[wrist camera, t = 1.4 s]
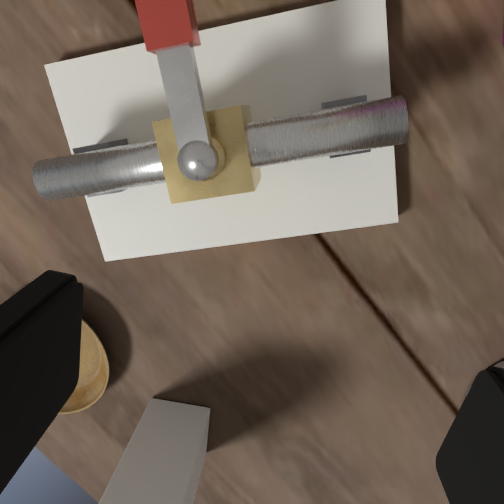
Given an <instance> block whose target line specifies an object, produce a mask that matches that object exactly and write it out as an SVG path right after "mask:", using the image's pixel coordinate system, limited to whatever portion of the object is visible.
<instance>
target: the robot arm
mask: <svg viewBox="0 0 504 504" xmlns="http://www.w3.org/2000/svg"><path fill="white" fill-rule="evenodd" d="M82 307H83V285H82V283H79V282H77V279H76V277H75V276H74V275H71V274H67V273H62V272H57V271H53V270H48V271H46V272H44V273H43V274H42V275H40V276H39V277H38V278H36V279H35V280H34V281H32V282H31V283H29V284H28V285H27V286H25V287H24V288H23V289H21V290H20V291H19V292H17V293H16V294H15V295H13V296H12V297H11V298H9V299H8V300H6V301H5V302H4V303H2V304H1V305H0V494H1V492H2V491H3V490H4V488H5V487H6V486H7V484H8V483H9V481H10V480H11V479H12V477H13V476H14V474H15V473H16V472H17V470H18V469H19V467H20V466H21V465H22V463H23V462H24V460H25V459H26V458H27V456H28V455H29V453H30V452H31V451H32V449H33V447H34V446H35V445H36V444H37V442H38V441H39V439H40V438H41V437H42V435H43V434H44V432H45V431H46V430H47V428H48V427H49V425H50V424H51V423H52V421H53V420H54V418H55V417H56V416H57V414H58V413H59V411H60V410H61V409H62V407H63V406H64V404H65V403H66V402H67V400H68V399H69V397H70V396H71V395H72V393H73V392H74V390H75V388H76V386H77V383H78V379H79V369H80V349H81V328H82ZM436 469H437V472H438V475H439V477H440V480H441V482H442V485H443V487H444V490H445V493H446V495H447V498H448V500H449V503H450V504H504V361H502V362H499V363H497V364H496V365H494V366H491V367H488V368H487V369H486V370H485V371H480V372H479V373H478V375H477V376H476V378H475V380H474V382H473V384H472V385H471V387H470V389H469V390H468V392H467V394H466V397H465V400H464V402H463V404H462V406H461V408H460V410H459V412H458V414H457V416H456V418H455V420H454V422H453V423H452V425H451V427H450V429H449V431H448V433H447V435H446V437H445V439H444V441H443V443H442V445H441V447H440V449H439V451H438V453H437V456H436Z"/></svg>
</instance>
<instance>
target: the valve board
mask: <svg viewBox="0 0 504 504" xmlns="http://www.w3.org/2000/svg"><path fill="white" fill-rule="evenodd" d="M198 32H199V37H200V42H201V45H200V46H196V47H193V48H194V53H195V58H196V63H197V68H198V73H199V78H200V83H201V88H202V93H203V98H204V103H205V108H206V111H212V110H217V109H222V108H228V107H233V106H238V105H250V110H251V116H252V122H255V121H261V120H266V119H272V118H278V117H283V116H289V115H294V114H300V113H305V112H311V111H316V110H322V107H321V103H323V102H329V101H334V100H340V99H345V98H351V97H356V96H363V95H367V101H372V100H377V99H383V98H389V97H391V86H390V69H389V52H388V35H387V18H386V1H385V0H337V1H332V2H328V3H323V4H319V5H314V6H309V7H305V8H300V9H296V10H291V11H287V12H282V13H278V14H273V15H269V16H264V17H260V18H255V19H250V20H246V21H241V22H237V23H232V24H228V25H223V26H219V27H214V28H210V29H205V30H201V31H198ZM44 66H45V69H46V73H47V76H48V79H49V82H50V86H51V89H52V92H53V95H54V98H55V102H56V105H57V108H58V111H59V115H60V118H61V121H62V124H63V127H64V131H65V134H66V137H67V140H68V143H69V147H70V150H71V153H72V154H74V152H73V148H78V147H83V146H88V145H94V144H99V143H104V142H110V141H115V140H121V139H126V138H127V141H128V144H133V143H139V142H144V141H150V140H155V135H154V131H153V127H152V123H151V122H153V121H158V120H164V119H169V118H171V116H170V112H169V107H168V103H167V99H166V94H165V90H164V85H163V81H162V76H161V72H160V68H159V63H158V59H157V55H156V54H153V53H150V52H148V51H147V50H146V46H145V43H142V44H137V45H133V46H128V47H123V48H119V49H114V50H110V51H105V52H101V53H96V54H92V55H87V56H83V57H78V58H74V59H69V60H65V61H60V62H55V63H51V64H46V65H44ZM260 171H261V177H262V178H261V180H260V182H259V184H258V186H257V188H256V190H255V191H254V192H247V193H240V194H234V195H227V196H221V197H214V198H208V199H201V200H195V201H188V202H182V203H175V204H171V201H170V197H169V193H168V189H167V184H166V183H159V184H153V185H147V186H141V187H135V188H129V189H126V190H124V191H122V192H118V193H112V194H105V195H99V196H93V197H87V195H85V198H86V201H87V205H88V208H89V211H90V214H91V218H92V221H93V224H94V227H95V230H96V234H97V237H98V240H99V243H100V246H101V250H102V253H103V256H104V259H105V261H112V260H120V259H127V258H135V257H142V256H150V255H157V254H165V253H172V252H180V251H187V250H195V249H202V248H210V247H217V246H225V245H232V244H240V243H247V242H255V241H262V240H270V239H277V238H285V237H292V236H300V235H307V234H315V233H322V232H330V231H337V230H345V229H352V228H360V227H367V226H375V225H382V224H390V223H397V222H398V206H397V189H396V172H395V155H394V146H388V147H382V148H375V149H371V152H366V153H360V154H354V155H348V156H341V157H335V158H330V157H329V156H326V157H320V158H314V159H308V160H301V161H295V162H289V163H283V164H277V165H271V166H264V167H260Z"/></svg>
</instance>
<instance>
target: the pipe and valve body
mask: <svg viewBox="0 0 504 504" xmlns="http://www.w3.org/2000/svg"><path fill="white" fill-rule="evenodd" d="M321 107H322V110H316V111H311V112H305V113H300V114H294V115H289V116H283V117H278V118H272V119H266V120H261V121H255V122H252V116H251V110H250V105H238V106H233V107H228V108H222V109H217V110H212V111H206V113H207V118H208V123H209V128H210V133H211V138H212V143H213V146H214V147H215V149H216V150H217V153H218V156H219V163H218V167H217V169H216V170H215V172H214V173H213V174H212V175H210V176H209V177H208V178H206V179H204V180H201V181H194V180H191V179H188V178H187V177H185V176H184V175H183V174H182V172H181V171H180V169H179V167H178V163H177V157H178V153H179V151H178V147H177V143H176V138H175V134H174V129H173V125H172V121H171V118H169V119H164V120H158V121H153V122H151V123H152V127H153V131H154V135H155V140H150V141H144V142H139V143H133V144H128V141H127V138H126V139H121V140H115V141H110V142H104V143H99V144H94V145H88V146H83V147H78V148H73V152H74V154H72V155H67V156H61V157H56V158H50V159H44V160H39V161H37V162H36V163H35V165H34V167H33V173H32V175H33V182H34V185H35V187H36V189H37V191H38V193H39V194H40V195H41V196H42V197H43V198H44V199H46V200H48V201H54V200H61V199H67V198H73V197H79V196H85V195H87V197H93V196H99V195H105V194H112V193H118V192H122V191H124V190H126V189H129V188H135V187H141V186H147V185H153V184H159V183H166V184H167V189H168V193H169V197H170V201H171V204H175V203H182V202H188V201H195V200H201V199H208V198H214V197H221V196H227V195H234V194H240V193H247V192H254V191H255V190H256V188H257V186H258V184H259V182H260V180H261V178H262V177H261V171H260V167H264V166H271V165H277V164H283V163H289V162H295V161H301V160H308V159H314V158H320V157H326V156H329V157H330V158H335V157H341V156H348V155H354V154H360V153H366V152H371V149H375V148H382V147H388V146H394V145H400V144H405V143H406V142H407V138H408V131H409V120H408V110H407V105H406V101H405V99H404V97H403V96H402V95H400V96H394V97H389V98H383V99H377V100H372V101H367V95H363V96H356V97H351V98H345V99H340V100H334V101H329V102H323V103H321Z"/></svg>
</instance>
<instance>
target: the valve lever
mask: <svg viewBox="0 0 504 504" xmlns="http://www.w3.org/2000/svg"><path fill="white" fill-rule="evenodd" d="M135 3H136V8H137V12H138V16H139V20H140V25H141V29H142V33H143V38H144V42H145V46H146V50H147V51H148V52H150V53H153V54H156V55H157V59H158V63H159V68H160V72H161V76H162V81H163V85H164V90H165V94H166V99H167V103H168V107H169V112H170V116H171V121H172V125H173V129H174V134H175V138H176V143H177V147H178V151H179V153H178V157H177V163H178V167H179V169H180V171H181V172H182V174H183V175H184V176H185V177H187V178H188V179H191V180H194V181H201V180H204V179H206V178H208V177H209V176H210V175H212V174H213V173H214V172H215V170H216V169H217V167H218V163H219V156H218V153H217V150H216V149H215V147H214V146H213V143H212V138H211V133H210V128H209V123H208V118H207V113H206V108H205V103H204V98H203V93H202V88H201V83H200V78H199V73H198V68H197V63H196V58H195V53H194V48H193V47H196V46H200V45H201V42H200V37H199V32H198V27H197V21H196V16H195V11H194V6H193V1H192V0H135Z"/></svg>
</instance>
